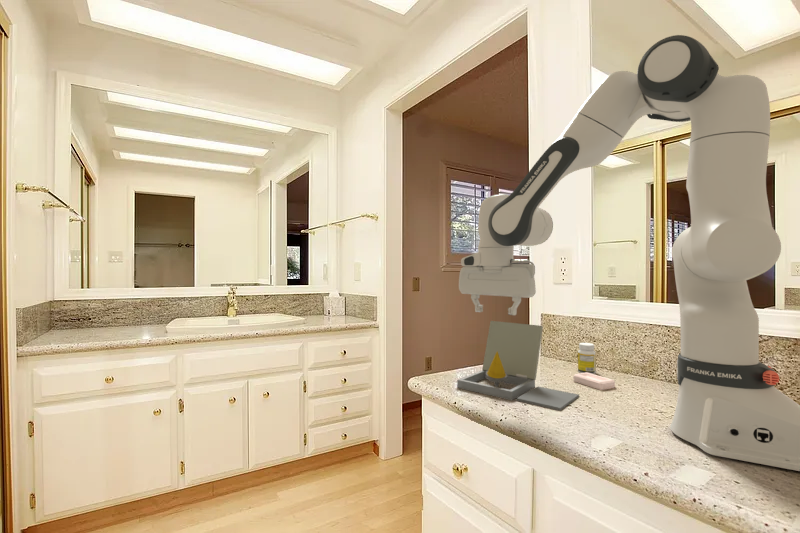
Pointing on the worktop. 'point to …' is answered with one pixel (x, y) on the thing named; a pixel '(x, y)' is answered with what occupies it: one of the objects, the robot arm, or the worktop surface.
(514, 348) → the equipment case
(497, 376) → the yellow cone
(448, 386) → the worktop surface
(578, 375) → the soap bar
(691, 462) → the worktop surface
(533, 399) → the rubber mat
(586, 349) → the supplement bottle
